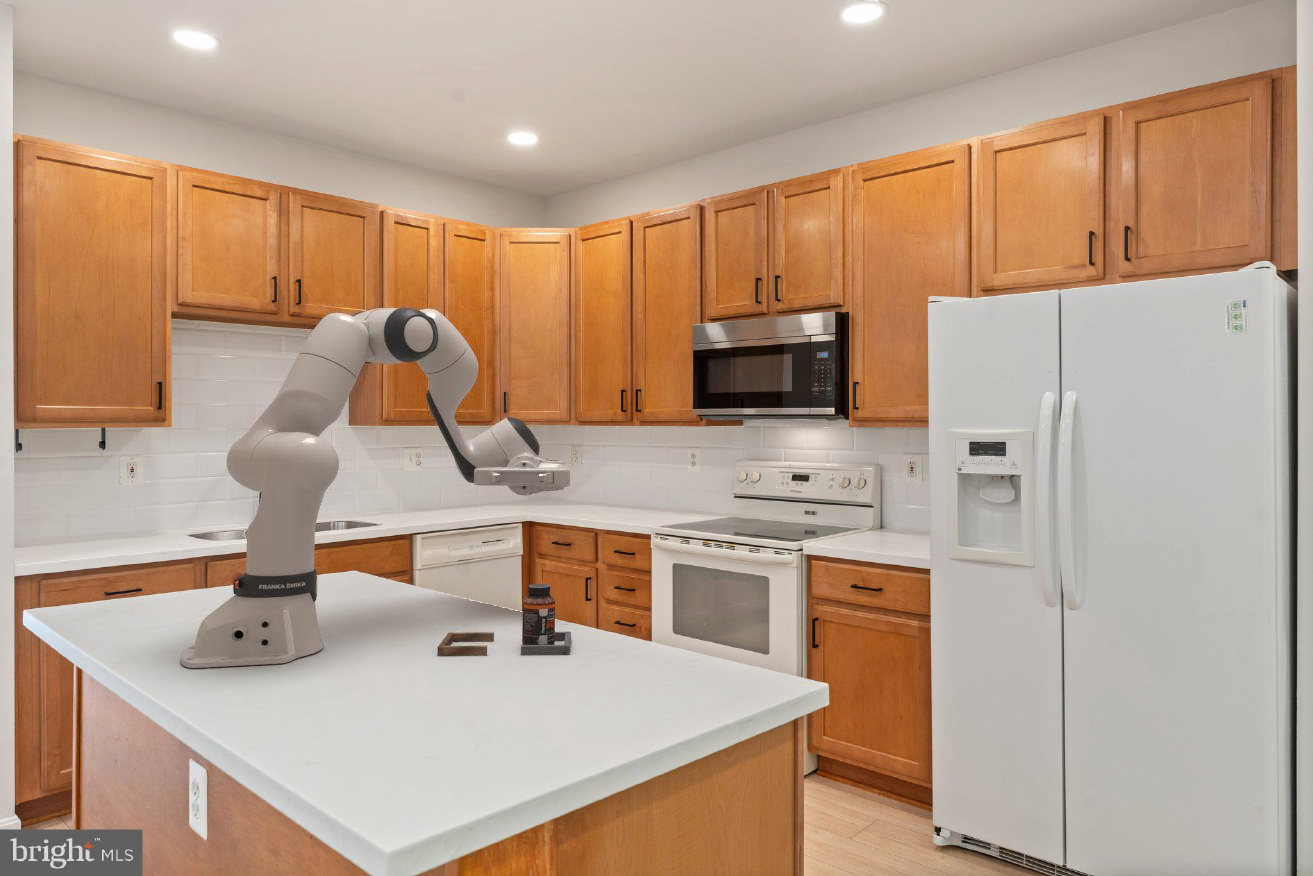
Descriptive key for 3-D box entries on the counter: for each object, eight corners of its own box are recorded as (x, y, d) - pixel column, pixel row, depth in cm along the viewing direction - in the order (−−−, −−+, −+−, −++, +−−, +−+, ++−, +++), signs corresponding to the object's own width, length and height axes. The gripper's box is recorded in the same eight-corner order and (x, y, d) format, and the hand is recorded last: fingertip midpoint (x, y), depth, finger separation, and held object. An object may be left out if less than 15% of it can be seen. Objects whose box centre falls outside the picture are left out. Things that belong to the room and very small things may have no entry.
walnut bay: (437, 655, 148) (437, 647, 148) (448, 640, 159) (448, 632, 159) (486, 655, 148) (486, 646, 148) (493, 640, 159) (494, 632, 159)
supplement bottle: (552, 651, 152) (553, 588, 152) (519, 651, 152) (520, 588, 152) (556, 643, 158) (557, 582, 158) (525, 642, 158) (525, 582, 158)
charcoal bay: (520, 655, 149) (520, 646, 149) (525, 639, 160) (526, 632, 160) (569, 654, 150) (569, 646, 150) (571, 639, 161) (571, 631, 160)
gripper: (477, 460, 186) (468, 462, 172) (571, 461, 187) (569, 463, 173) (477, 489, 186) (468, 493, 172) (571, 489, 187) (568, 494, 173)
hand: (519, 478), depth 173 cm, fingers open, 8 cm apart
